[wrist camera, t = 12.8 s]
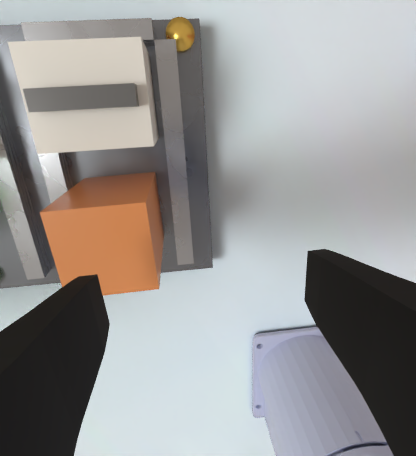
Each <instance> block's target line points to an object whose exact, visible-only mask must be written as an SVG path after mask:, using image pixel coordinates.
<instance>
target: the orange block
mask: <svg viewBox="0 0 416 456" xmlns="http://www.w3.org/2000/svg"><path fill="white" fill-rule="evenodd" d="M40 215H41V219H42V222H43V225H44V228H45V232H46V235H47V238H48V242H49V245H50V248H51V251H52V255H53V258H54V261H55V265H56V268H57V271H58V274H59V278H60V281H61V284H62V287H63V286H65V285H66V284H68V283H69V282H70V281H72V280H73V279H75V278H77V277H79V276H86V275H95V274H97V275H98V279H99V283H100V287H101V291H102V295H110V294H119V293H128V292H136V291H145V290H154V289H159V285H160V274H161V263H162V252H163V240H164V231H163V224H162V217H161V210H160V202H159V195H158V188H157V180H156V173H155V172H148V173H136V174H125V175H114V176H102V177H91V178H84V179H83V180H81V181H80V182H79V183H77V184H76V185H75V186H74V187H72V188H71V189H70V190H68V191H67V192H66V193H64V194H63V195H62V196H60V197H59V198H58V199H56V200H55V201H54V202H52V203H51V204H50V205H49V206H47V207H46V208H45V209H43V210H42V211H41V212H40Z"/></svg>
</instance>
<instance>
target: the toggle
mask: <svg viewBox="0 0 416 456" xmlns="http://www.w3.org/2000/svg"><path fill="white" fill-rule="evenodd" d="M8 46H9V49H10V53H11V57H12V61H13V64H14V68H15V72H16V76H17V79H18V83H19V87H20V90H21V94H22V98H23V102H24V105H25V109H26V113H27V117H28V120H29V124H30V128H31V131H32V135H33V139H34V143H35V146H36V150H37V154H46V153H61V152H76V151H91V150H106V149H121V148H136V147H151V146H154V145H155V144H156V142H157V140H158V138H159V135H158V126H157V117H156V108H155V99H154V90H153V81H152V72H151V63H150V55H149V53H148V50H147V48H146V46H145V44H144V42H143V40H142V38H141V37H120V38H94V39H68V40H43V41H17V42H8Z"/></svg>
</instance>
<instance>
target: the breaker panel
mask: <svg viewBox="0 0 416 456" xmlns="http://www.w3.org/2000/svg"><path fill="white" fill-rule="evenodd" d="M120 37H141V38H142V40H143V42H144V44H145V46H146V48H147V50H148V53H149V55H150V63H151V72H152V81H153V90H154V99H155V108H156V117H157V126H158V135H159V138H158V140H157V142H156V144H155V145H154V146H151V147H136V148H121V149H106V150H91V151H76V152H61V153H46V154H37V150H36V146H35V143H34V139H33V135H32V131H31V128H30V124H29V120H28V117H27V113H26V109H25V105H24V102H23V98H22V94H21V90H20V87H19V83H18V79H17V76H16V72H15V68H14V64H13V61H12V57H11V53H10V49H9V46H8V42H17V41H43V40H68V39H94V38H120ZM148 172H155V173H156V180H157V188H158V195H159V202H160V210H161V217H162V224H163V231H164V240H163V252H162V263H161V273H162V272H172V271H183V270H193V269H203V268H213V265H212V246H211V227H210V209H209V190H208V172H207V153H206V135H205V116H204V97H203V79H202V60H201V42H200V23H199V19H185V18H183V17H176V18H173V19H172V20H152V19H151V18H142V19H112V20H83V21H54V22H24V23H21V25H0V288H10V287H20V286H31V285H41V284H51V283H61V281H60V278H59V274H58V271H57V268H56V265H55V261H54V258H53V255H52V251H51V248H50V245H49V242H48V238H47V235H46V232H45V228H44V225H43V222H42V219H41V215H40V212H41V211H42V210H43V209H45V208H46V207H47V206H49V205H50V204H51V203H52V202H54V201H55V200H56V199H58V198H59V197H60V196H62V195H63V194H64V193H66V192H67V191H68V190H70V189H71V188H72V187H74V186H75V185H76V184H77V183H79V182H80V181H81V180H83V179H84V178H91V177H102V176H114V175H125V174H136V173H148Z"/></svg>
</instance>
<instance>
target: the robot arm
mask: <svg viewBox="0 0 416 456" xmlns="http://www.w3.org/2000/svg"><path fill="white" fill-rule="evenodd" d="M305 302H306V304H307V306H308V309H309V311H310V313H311V315H312V317H313V319H314V321H315V323H316V325H317V327H311V328H302V329H294V330H285V331H276V332H268V333H259V334H256V335H254V337H253V348H252V413H253V416H254V417H256V418H260V417H265V420H266V424H267V427H268V431H269V434H270V438H271V441H272V444H273V448H274V451H275V455H276V456H416V283H414V282H411V281H408V280H405V279H403V278H400V277H397V276H394V275H392V274H389V273H386V272H384V271H381V270H379V269H376V268H374V267H371V266H369V265H366V264H364V263H361V262H359V261H356V260H354V259H352V258H349V257H347V256H344V255H341V254H339V253H336V252H333V251H330V250H326V249H321V250H312V251H308V256H307V271H306V287H305ZM108 330H109V320H108V315H107V311H106V307H105V303H104V299H103V295H102V291H101V287H100V283H99V279H98V275H97V274H95V275H86V276H79V277H77V278H75V279H73V280H72V281H70V282H69V283H68V284H66V285H65V286H63V287H62V288H61V289H59V290H58V291H57V292H55V293H54V294H53V295H51V296H50V297H49V298H47V299H46V300H45V301H43V302H42V303H40V304H39V305H38V306H36V307H35V308H34V309H32V310H31V311H30V312H28V313H27V314H25V315H24V316H22V317H21V318H20V319H18V320H17V321H15V322H14V323H12V324H11V325H9V326H8V327H6V328H5V329H4V330H2V331H1V332H0V456H74V452H75V447H76V443H77V438H78V435H79V431H80V428H81V424H82V421H83V418H84V415H85V411H86V408H87V405H88V402H89V399H90V396H91V393H92V390H93V387H94V384H95V381H96V378H97V375H98V371H99V368H100V365H101V362H102V359H103V355H104V352H105V347H106V342H107V337H108ZM258 344H260V345H258Z"/></svg>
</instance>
